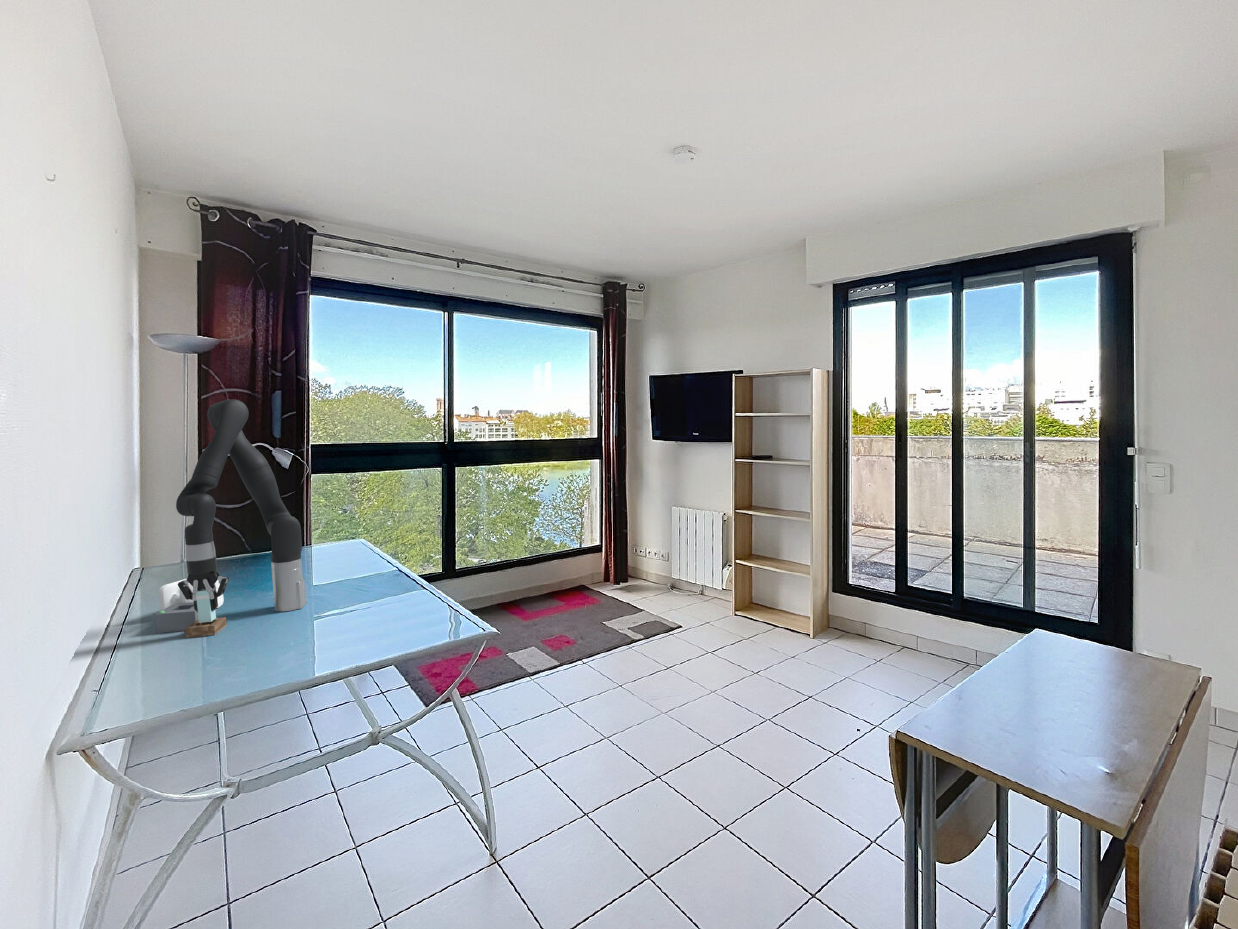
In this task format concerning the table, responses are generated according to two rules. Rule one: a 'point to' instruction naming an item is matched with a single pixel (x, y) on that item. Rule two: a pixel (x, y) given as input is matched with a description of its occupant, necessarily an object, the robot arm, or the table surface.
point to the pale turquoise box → (204, 606)
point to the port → (176, 617)
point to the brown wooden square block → (205, 627)
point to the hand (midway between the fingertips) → (206, 610)
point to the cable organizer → (179, 595)
